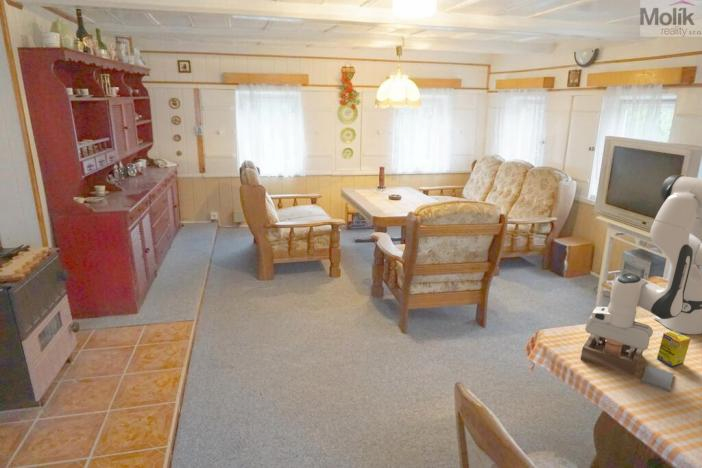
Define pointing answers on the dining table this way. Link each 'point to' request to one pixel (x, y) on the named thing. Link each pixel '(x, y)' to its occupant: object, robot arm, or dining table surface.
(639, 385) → the dining table surface
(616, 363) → the frame
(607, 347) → the peach drawer knob
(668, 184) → the robot arm
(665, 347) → the supplement box
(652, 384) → the slate mat
